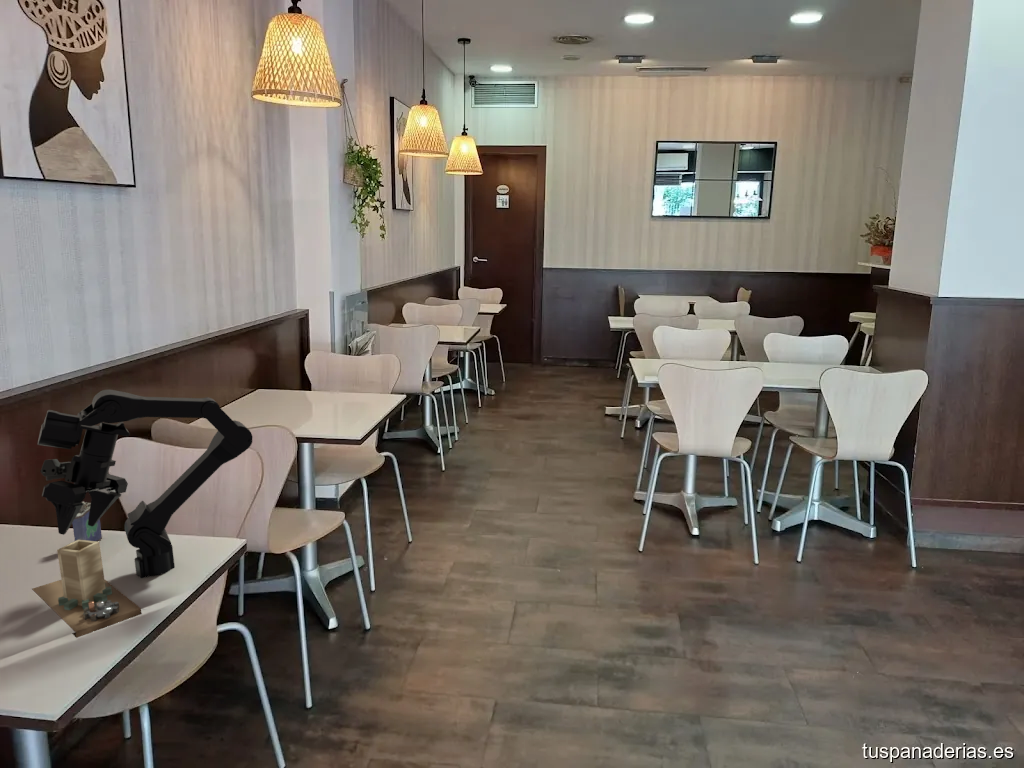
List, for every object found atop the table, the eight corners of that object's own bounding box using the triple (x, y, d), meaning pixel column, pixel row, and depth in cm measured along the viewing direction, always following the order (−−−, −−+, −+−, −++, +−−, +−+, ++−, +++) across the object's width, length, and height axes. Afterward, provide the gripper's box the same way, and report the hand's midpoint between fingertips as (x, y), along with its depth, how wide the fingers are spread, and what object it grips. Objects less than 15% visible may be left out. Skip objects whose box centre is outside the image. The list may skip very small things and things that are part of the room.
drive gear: (112, 602, 146) (110, 588, 145) (124, 612, 142) (122, 598, 141) (78, 613, 142) (76, 600, 141) (90, 624, 138) (88, 610, 137)
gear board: (93, 575, 160) (92, 569, 160) (141, 614, 143) (140, 608, 143) (32, 594, 152) (32, 588, 152) (76, 637, 135) (75, 631, 135)
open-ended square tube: (85, 585, 153) (78, 534, 150) (122, 590, 150) (115, 538, 148) (47, 607, 144) (39, 553, 142) (86, 612, 142) (78, 557, 140)
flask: (85, 553, 171) (78, 508, 169) (71, 554, 171) (65, 509, 169) (105, 537, 180) (99, 494, 178) (92, 537, 180) (86, 495, 178)
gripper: (87, 440, 159) (68, 512, 159) (26, 446, 141) (4, 527, 141) (137, 453, 159) (118, 525, 159) (82, 461, 140) (60, 543, 140)
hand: (76, 529), depth 150 cm, fingers open, 9 cm apart
